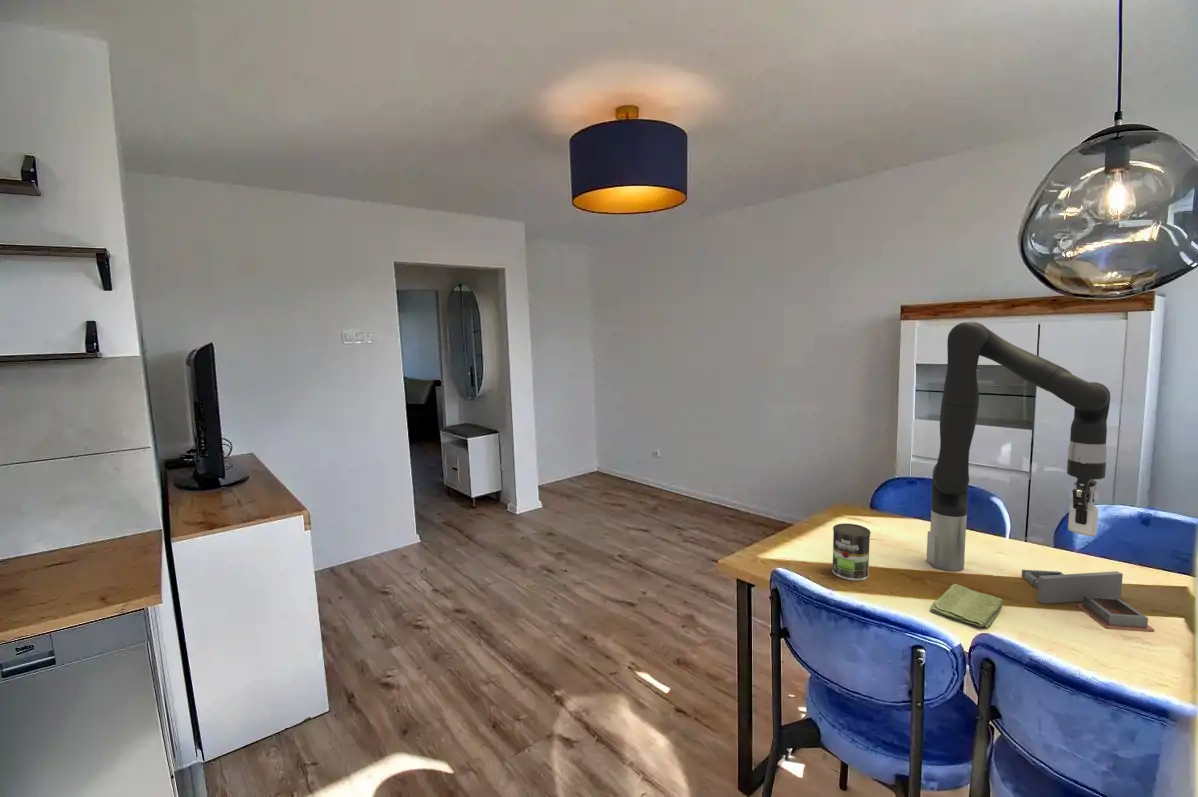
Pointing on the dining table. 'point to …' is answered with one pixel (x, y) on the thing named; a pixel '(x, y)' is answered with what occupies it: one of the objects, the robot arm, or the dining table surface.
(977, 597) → the washcloth
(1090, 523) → the eye dropper bottle
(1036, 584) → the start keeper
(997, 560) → the dining table surface
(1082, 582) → the grey divider panel
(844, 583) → the dining table surface
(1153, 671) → the dining table surface
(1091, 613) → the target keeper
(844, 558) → the coffee can
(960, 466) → the robot arm
